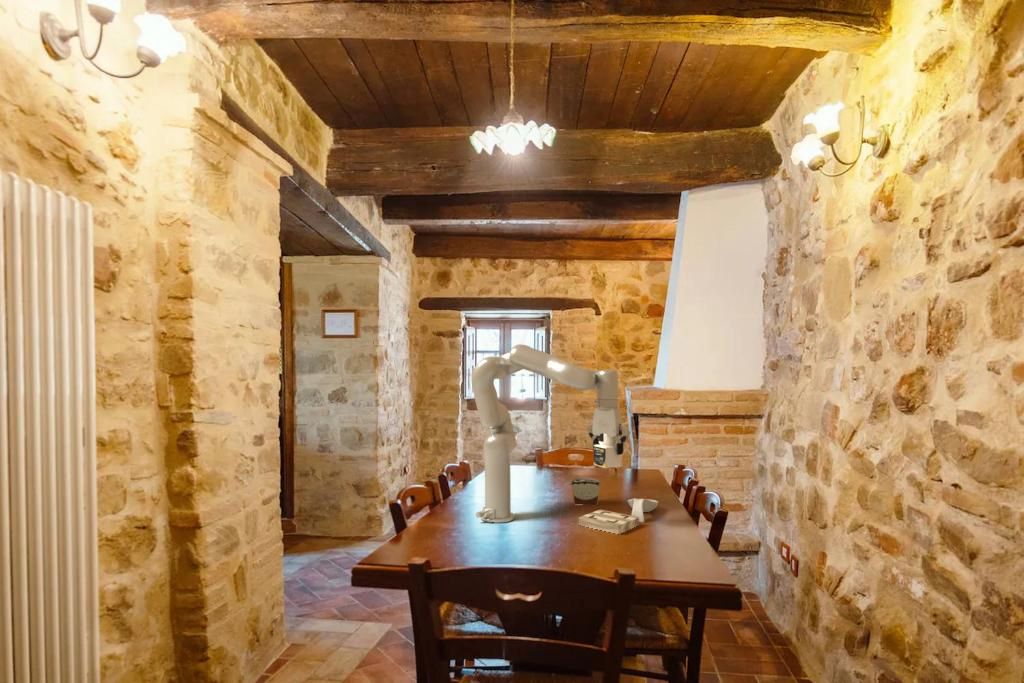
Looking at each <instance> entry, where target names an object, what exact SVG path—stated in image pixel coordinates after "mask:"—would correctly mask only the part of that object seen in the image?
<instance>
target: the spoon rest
mask: <svg viewBox="0 0 1024 683" xmlns="http://www.w3.org/2000/svg"><path fill="white" fill-rule="evenodd" d="M627 503H628V504H629V506H630V508H632V510H631V514H630V515H631V516H636V517H639V523H645V515H644V514H645V513H643V512H648V513H650V511H651V512H652V511H654V510H655V509H656V508H657V506H658V505H659V501H658V500H655V499H648V498H647V499H646V498H630V499H627Z"/></svg>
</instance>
